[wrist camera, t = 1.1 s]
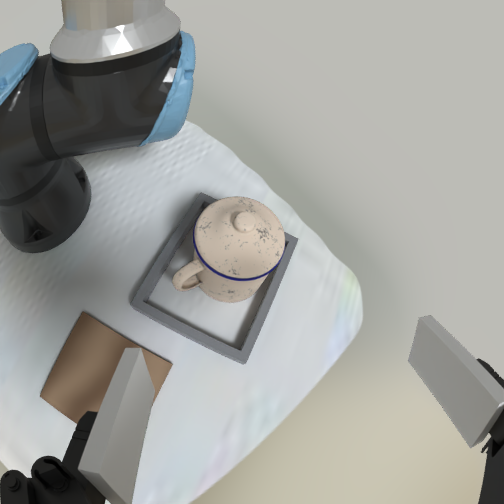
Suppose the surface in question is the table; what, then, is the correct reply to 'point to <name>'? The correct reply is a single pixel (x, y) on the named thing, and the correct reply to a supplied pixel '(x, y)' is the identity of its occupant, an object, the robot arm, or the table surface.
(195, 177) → the table surface
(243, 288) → the teacup with lid
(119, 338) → the walnut coaster
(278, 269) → the holder tray
